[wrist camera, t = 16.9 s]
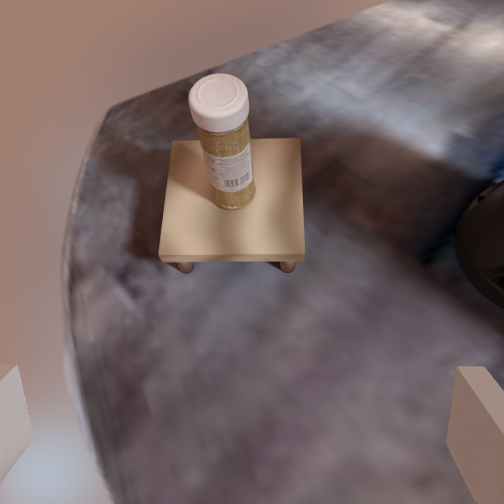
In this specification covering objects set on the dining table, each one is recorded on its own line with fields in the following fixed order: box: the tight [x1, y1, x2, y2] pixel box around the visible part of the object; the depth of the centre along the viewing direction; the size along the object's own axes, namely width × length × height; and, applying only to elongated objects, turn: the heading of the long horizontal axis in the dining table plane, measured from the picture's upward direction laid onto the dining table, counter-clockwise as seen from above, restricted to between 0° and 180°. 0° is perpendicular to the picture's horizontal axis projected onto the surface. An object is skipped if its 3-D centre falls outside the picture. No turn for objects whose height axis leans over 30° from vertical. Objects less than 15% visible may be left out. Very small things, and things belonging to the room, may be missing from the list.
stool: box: [158, 138, 305, 273], centre depth 48 cm, size 14×14×6 cm
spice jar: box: [188, 74, 256, 210], centre depth 39 cm, size 5×5×14 cm
